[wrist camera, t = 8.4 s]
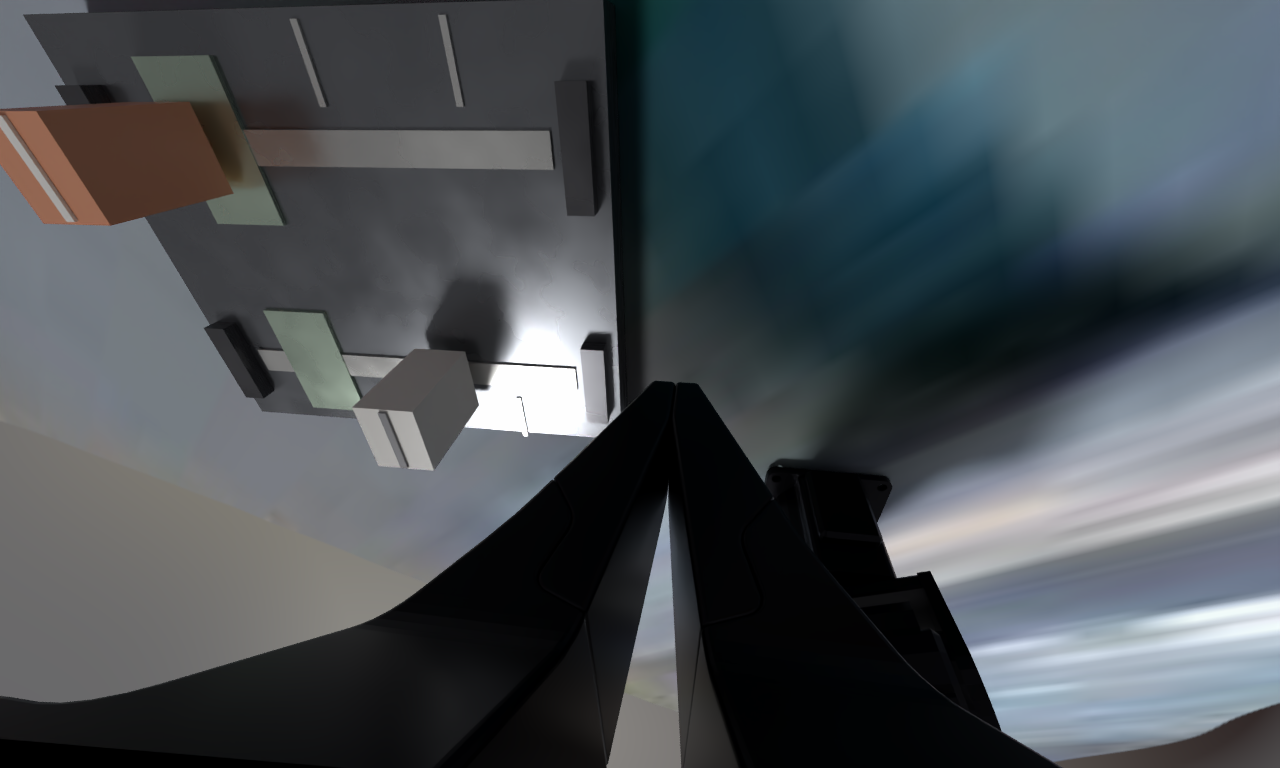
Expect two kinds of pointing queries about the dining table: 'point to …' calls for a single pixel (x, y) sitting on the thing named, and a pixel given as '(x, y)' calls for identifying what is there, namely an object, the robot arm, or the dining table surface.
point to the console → (391, 193)
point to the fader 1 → (109, 160)
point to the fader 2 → (418, 409)
